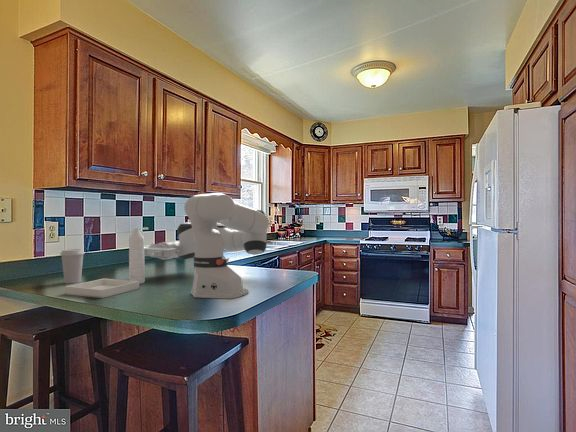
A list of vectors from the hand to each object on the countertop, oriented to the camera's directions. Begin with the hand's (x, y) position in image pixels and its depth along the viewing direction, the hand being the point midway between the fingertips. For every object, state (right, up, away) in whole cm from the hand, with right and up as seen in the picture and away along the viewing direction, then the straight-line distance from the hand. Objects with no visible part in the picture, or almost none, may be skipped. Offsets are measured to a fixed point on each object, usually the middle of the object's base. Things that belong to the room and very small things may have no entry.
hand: (144, 253), depth 162 cm
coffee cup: (-33, -13, -2) cm, 35 cm away
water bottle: (-1, -13, -4) cm, 14 cm away
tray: (-8, -13, -21) cm, 26 cm away
